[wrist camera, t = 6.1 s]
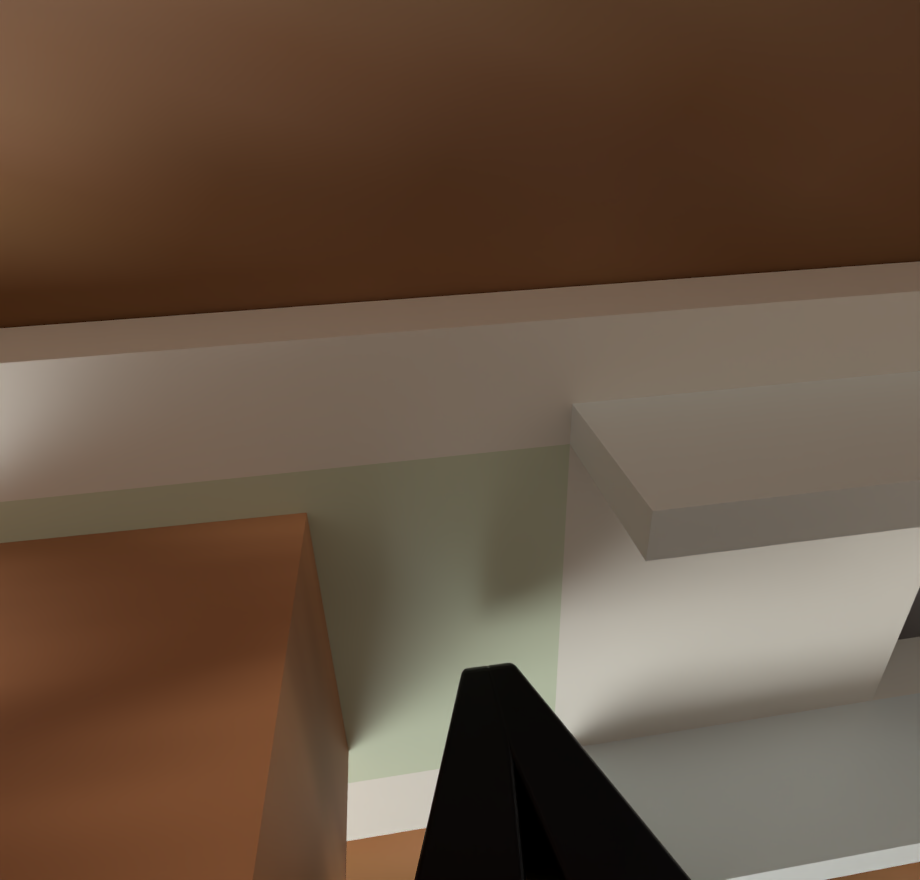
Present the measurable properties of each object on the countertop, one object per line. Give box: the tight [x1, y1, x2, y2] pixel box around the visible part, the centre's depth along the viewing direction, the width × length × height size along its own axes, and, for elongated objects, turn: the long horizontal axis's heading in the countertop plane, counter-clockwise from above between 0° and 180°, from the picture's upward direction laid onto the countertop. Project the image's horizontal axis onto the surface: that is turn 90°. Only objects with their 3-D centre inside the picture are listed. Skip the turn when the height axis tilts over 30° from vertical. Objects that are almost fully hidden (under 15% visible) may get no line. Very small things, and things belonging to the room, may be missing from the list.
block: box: [0, 513, 349, 880], centre depth 7 cm, size 5×5×5 cm
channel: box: [0, 261, 920, 880], centre depth 9 cm, size 24×10×4 cm, turn 92°
